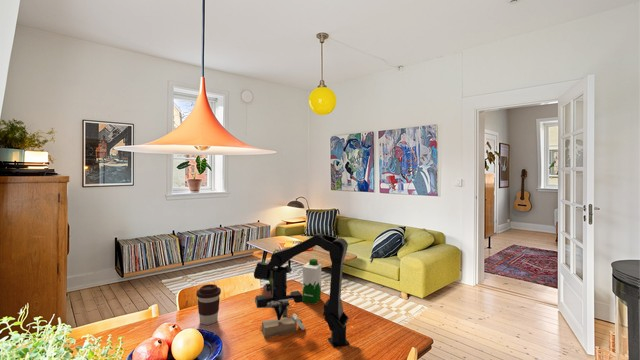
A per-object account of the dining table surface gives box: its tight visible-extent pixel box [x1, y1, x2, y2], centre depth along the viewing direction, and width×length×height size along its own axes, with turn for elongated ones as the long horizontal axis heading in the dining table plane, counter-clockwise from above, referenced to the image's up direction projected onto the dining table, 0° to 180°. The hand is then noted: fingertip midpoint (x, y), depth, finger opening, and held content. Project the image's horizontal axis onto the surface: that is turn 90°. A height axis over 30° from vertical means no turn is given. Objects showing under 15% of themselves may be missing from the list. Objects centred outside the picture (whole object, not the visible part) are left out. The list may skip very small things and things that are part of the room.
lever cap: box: [291, 312, 306, 331], centre depth 135 cm, size 4×6×2 cm
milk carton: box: [301, 258, 323, 305], centre depth 163 cm, size 9×9×20 cm
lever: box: [256, 301, 290, 309], centre depth 140 cm, size 14×4×2 cm, turn 94°
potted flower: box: [261, 248, 280, 298], centre depth 167 cm, size 12×10×25 cm
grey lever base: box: [261, 308, 298, 339], centre depth 135 cm, size 12×13×6 cm
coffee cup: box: [195, 283, 222, 326], centre depth 140 cm, size 10×10×15 cm
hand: (278, 319), depth 132 cm, fingers closed
